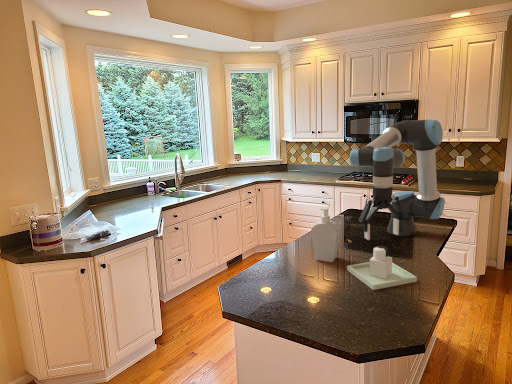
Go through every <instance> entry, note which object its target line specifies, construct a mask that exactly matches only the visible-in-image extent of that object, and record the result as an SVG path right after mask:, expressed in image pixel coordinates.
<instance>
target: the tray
mask: <svg viewBox="0 0 512 384" xmlns="http://www.w3.org/2000/svg"><path fill="white" fill-rule="evenodd" d="M346 270H347V271H348V272H349V273H350V274H351V275H353V276H354V277H356V278H357V279H358V280H359V281H361V282H362V283H363V284H365V285H366V286H367V287H369V288H370V289H371V290H373V291H374V290H375V291H376V290H380V289H386V288H391V287H396V286H401V285H407V284H411V283H417V282H418V277H417V276H416V275H414V274H413V273H412V272H409V271H408V270H406V269H404V268H403V267H400V266H399V265H397V264H396V263H394V262H392V273H391V274H390V275H389V276H388V277H387V278H386V279H384V278H380V277H376V276H372V275H369V261H366V262H361V263H356V264H349V265H347V266H346Z"/></svg>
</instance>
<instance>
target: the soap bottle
mask: <svg viewBox="0 0 512 384" xmlns="http://www.w3.org/2000/svg"><path fill="white" fill-rule="evenodd" d="M330 207H331V205H330V204H324V205H322V206H321V208H320V210H321V211H323V214H322V215H321V214H320V219H321V220H319V221H318V222H316V223H315V225H313V227H311V228H310V229H311V230H310V237H311V242H312V248H313V254H314V259H315V261H322V262H328V263H334V261H335V259H336V258H337V254H338V248H339V244H340V243H339V242H340V235H341V232H342V231H341V230H342V229H341V226H340V225H339V224H338V223H337V222H336V221H333V220H331V215H330V214H328V213H329V208H330Z"/></svg>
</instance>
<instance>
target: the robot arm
mask: <svg viewBox="0 0 512 384" xmlns="http://www.w3.org/2000/svg"><path fill="white" fill-rule="evenodd" d="M443 135H444V133H443V127H442V124H441V123H440V121H438V120H437V119H414V120H412V119H411V120H408V119H407V120H402V121H397V122H396V123H394V124H391V125H390V126H389V127H387V128H386V129H384V130H383V132H382V134H380V135H379V136H378V137H376V138H374V139H373V140H372V141H371V142H369V143H368V144H366V145H365V146H363V147H362V148H354V149H352V150H351V151H350V154H349V162H350V164H351V165H352V166H354V167H355V166H356V167H368V168H369V167H371V168H372V171H373V172H372V185H373V186H372V196H373V197H372V199H368V198H366V199H365V202H364V203H365V204H364V207H363V209H362V212H361V213H360V216H359V218H358V220H357V221H358V222H359V223H361V224H362V231H363V232H364V237H363V238H364V239H366V240H367V241H370V240H371V224H370V222H371V220H372V219H373V217H374V216H375V215H376V213H377V212H378V211H379V210H386V209H387V210H389V212H390V216H391V217H390V220H389V222H388V226H387V230H386V231H387V233H388V234H390V235H393V236H398V237H412V236H415V235H416V233H417V228H416V224H415V222H414V217H416V218H417V217H418V218H423V219H424V218H426V219H430V220H431V219H432V220H438V219H440V218H441V216H442V214H443V212H444V208H445V205H446V204H445V203H446V201H445V198H444V197H441V193H440V191H438V185H437V162H436V161H437V159H436V158H437V157H436V150H437V149H438V148H439V145H440V144H442V141H443V139H444V138H443ZM400 144H401V145H403V144H404V145H405V144H406V145H412V150H413V151H415V152H416V169H417V179H418V180H417V183H418V185H417V186H418V192H416V194H415V192H414V191H412V190H410V191H409V190H406V191H398V192H393V190H394V189H393V187H392V186H393V185H394V184H393V183H394V181H393V180H394V179H393V178H394V169H395V168H399V167H400V166H402V165H403V164H404V163H405V161H406V154H405V152H404V151H403V150H402V149H400V148H393V147H395V146H397V145H400Z"/></svg>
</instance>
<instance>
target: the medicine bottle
mask: <svg viewBox="0 0 512 384" xmlns="http://www.w3.org/2000/svg"><path fill="white" fill-rule="evenodd" d="M372 250H373V251H372V252H373V253H372V254H373V255H372V257H370V258H369V261H368V262H369V275H372V276H376V277H380V278H384V279H386V278H387V277H388V276H389V275H390V274H391V273H392V263H393V257H391V256H389V254H390V251H389V247H387V246H384V245H376V246H373V249H372Z"/></svg>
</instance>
